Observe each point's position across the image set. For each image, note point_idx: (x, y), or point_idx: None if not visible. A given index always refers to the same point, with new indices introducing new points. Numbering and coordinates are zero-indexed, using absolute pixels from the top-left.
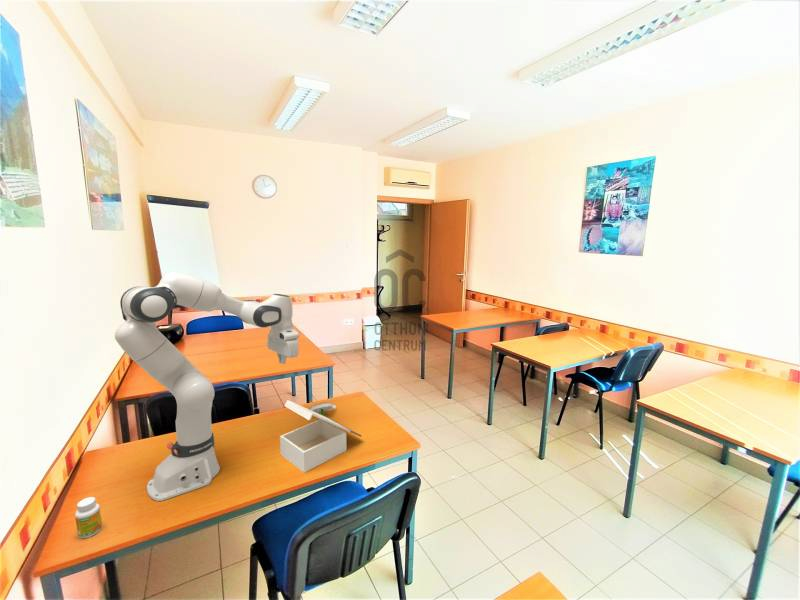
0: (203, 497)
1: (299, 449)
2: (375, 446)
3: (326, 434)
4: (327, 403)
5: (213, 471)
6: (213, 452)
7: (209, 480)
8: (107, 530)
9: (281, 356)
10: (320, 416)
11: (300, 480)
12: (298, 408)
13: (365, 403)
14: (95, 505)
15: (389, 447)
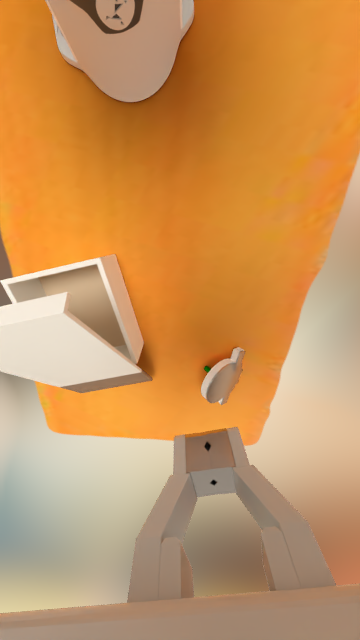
0: (15, 32)
1: (17, 277)
2: (67, 393)
3: (121, 349)
4: (205, 396)
5: (86, 66)
6: (92, 34)
7: (63, 53)
8: None
9: (254, 511)
10: (12, 362)
11: (12, 258)
12: None
13: None
14: None
15: (56, 406)
